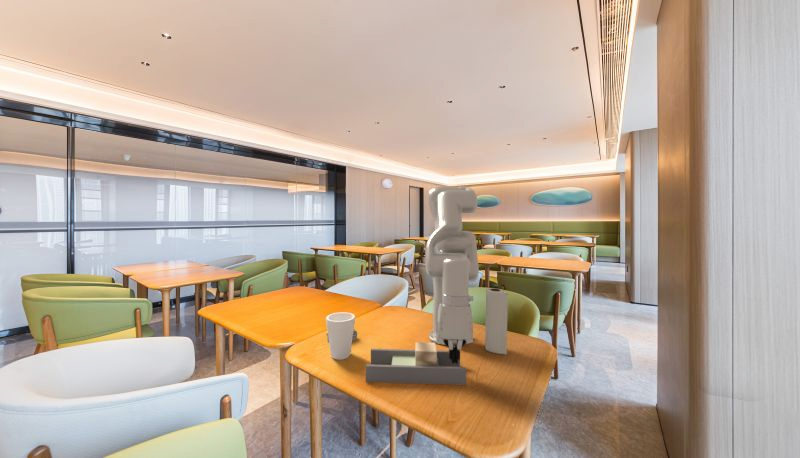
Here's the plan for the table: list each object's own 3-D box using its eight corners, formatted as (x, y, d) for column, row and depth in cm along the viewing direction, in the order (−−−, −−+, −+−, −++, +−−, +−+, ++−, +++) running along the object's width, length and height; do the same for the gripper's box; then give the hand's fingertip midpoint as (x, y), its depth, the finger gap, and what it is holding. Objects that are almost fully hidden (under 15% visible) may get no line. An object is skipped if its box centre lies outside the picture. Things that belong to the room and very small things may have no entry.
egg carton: (332, 348, 104) (332, 336, 104) (325, 340, 110) (325, 330, 110) (359, 340, 110) (359, 330, 110) (351, 334, 117) (350, 324, 116)
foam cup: (340, 364, 92) (340, 323, 91) (320, 357, 97) (320, 318, 96) (360, 353, 100) (360, 315, 99) (340, 346, 105) (340, 310, 104)
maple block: (434, 358, 90) (434, 342, 90) (436, 368, 84) (436, 351, 84) (415, 358, 90) (415, 342, 90) (415, 368, 84) (415, 351, 84)
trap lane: (459, 364, 92) (459, 350, 92) (465, 384, 81) (466, 368, 81) (371, 362, 93) (371, 348, 93) (365, 381, 82) (365, 366, 82)
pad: (415, 365, 92) (415, 355, 92) (415, 381, 83) (415, 370, 83) (392, 364, 92) (392, 355, 92) (390, 380, 83) (390, 370, 83)
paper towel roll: (483, 345, 106) (484, 287, 106) (499, 346, 106) (501, 287, 105) (488, 354, 99) (489, 292, 98) (506, 355, 99) (507, 292, 98)
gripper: (477, 297, 89) (476, 356, 90) (428, 296, 90) (428, 355, 90) (484, 303, 82) (482, 368, 82) (430, 302, 82) (429, 367, 83)
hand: (454, 361), depth 86 cm, fingers closed
